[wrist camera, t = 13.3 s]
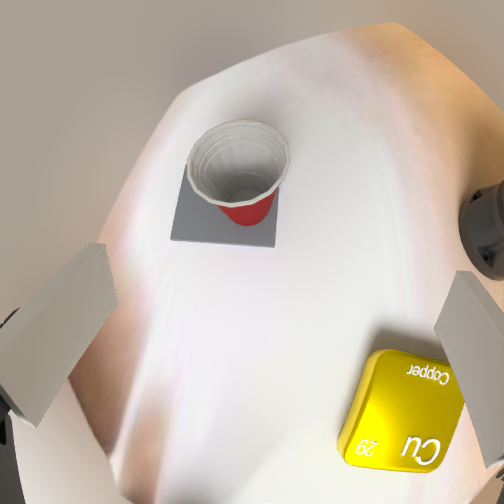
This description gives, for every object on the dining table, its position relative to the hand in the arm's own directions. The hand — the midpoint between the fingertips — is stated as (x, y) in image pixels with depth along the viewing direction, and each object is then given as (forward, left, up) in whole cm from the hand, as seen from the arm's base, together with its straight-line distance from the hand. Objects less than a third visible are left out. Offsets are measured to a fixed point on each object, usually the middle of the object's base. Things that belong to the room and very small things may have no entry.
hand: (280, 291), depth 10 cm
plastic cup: (+5, -16, -27) cm, 32 cm away
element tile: (-18, +10, -28) cm, 35 cm away
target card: (+8, -17, -28) cm, 33 cm away
